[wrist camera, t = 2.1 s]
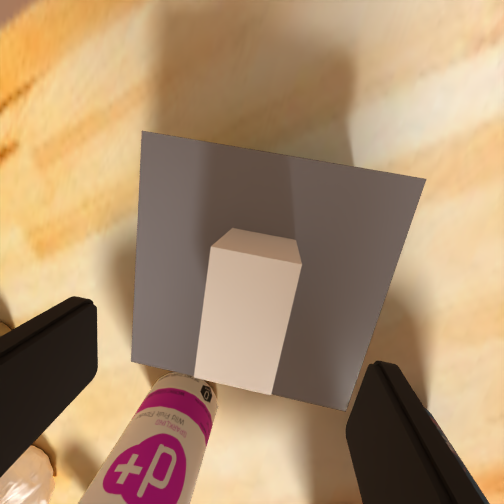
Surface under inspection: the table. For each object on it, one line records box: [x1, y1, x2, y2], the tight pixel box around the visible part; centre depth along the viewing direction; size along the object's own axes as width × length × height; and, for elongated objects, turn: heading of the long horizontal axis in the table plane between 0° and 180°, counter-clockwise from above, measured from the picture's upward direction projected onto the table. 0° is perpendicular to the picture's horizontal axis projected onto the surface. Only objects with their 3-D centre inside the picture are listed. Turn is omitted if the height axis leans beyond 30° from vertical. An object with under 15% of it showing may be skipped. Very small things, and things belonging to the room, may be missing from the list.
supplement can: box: [78, 372, 218, 504], centre depth 24 cm, size 8×8×15 cm
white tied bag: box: [0, 445, 55, 504], centre depth 33 cm, size 12×8×11 cm
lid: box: [131, 131, 426, 411], centre depth 15 cm, size 16×16×7 cm
